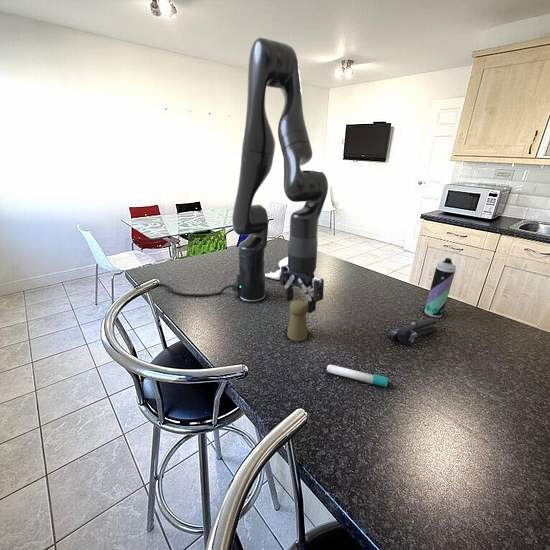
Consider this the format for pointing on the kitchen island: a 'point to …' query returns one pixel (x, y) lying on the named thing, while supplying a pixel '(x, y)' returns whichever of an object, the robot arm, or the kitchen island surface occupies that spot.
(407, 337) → the can opener
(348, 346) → the kitchen island surface
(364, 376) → the marker
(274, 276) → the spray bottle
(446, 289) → the spray can
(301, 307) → the cork
